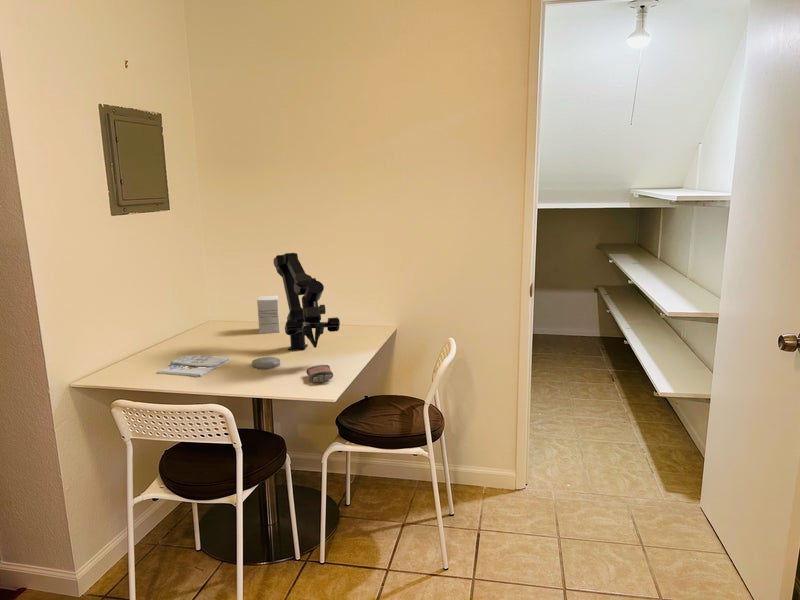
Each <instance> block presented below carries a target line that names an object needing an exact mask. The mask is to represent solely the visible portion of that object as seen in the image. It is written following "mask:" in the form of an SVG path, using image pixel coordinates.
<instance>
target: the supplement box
mask: <svg viewBox="0 0 800 600" xmlns="http://www.w3.org/2000/svg"><path fill="white" fill-rule="evenodd" d="M256 303H257V318H258V332H259V334H260V333H261V334H274V333H280V331H281V324H280V307H279V296H278V295H261V296H260V295H259V296H258V297H257V300H256Z"/></svg>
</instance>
